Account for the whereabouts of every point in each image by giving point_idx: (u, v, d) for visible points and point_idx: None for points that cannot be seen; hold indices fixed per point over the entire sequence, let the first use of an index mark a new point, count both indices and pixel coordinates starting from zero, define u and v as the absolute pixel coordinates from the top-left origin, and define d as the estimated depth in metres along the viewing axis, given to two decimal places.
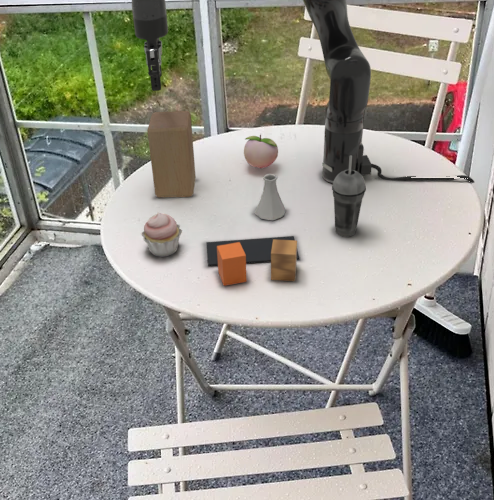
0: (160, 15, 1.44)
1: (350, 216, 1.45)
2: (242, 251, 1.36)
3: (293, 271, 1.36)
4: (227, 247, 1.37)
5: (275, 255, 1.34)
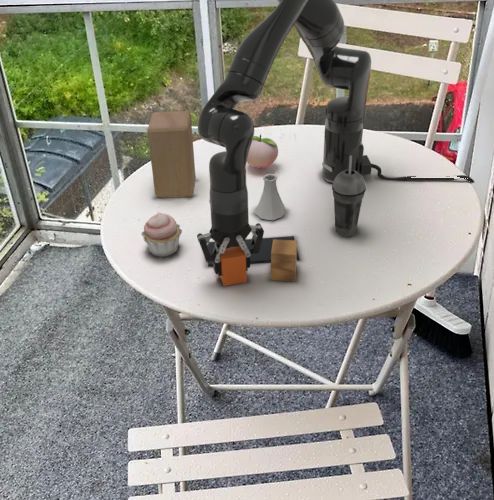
0: (218, 211, 1.27)
1: (350, 216, 1.45)
2: (242, 251, 1.36)
3: (293, 271, 1.36)
4: None
5: (275, 255, 1.34)
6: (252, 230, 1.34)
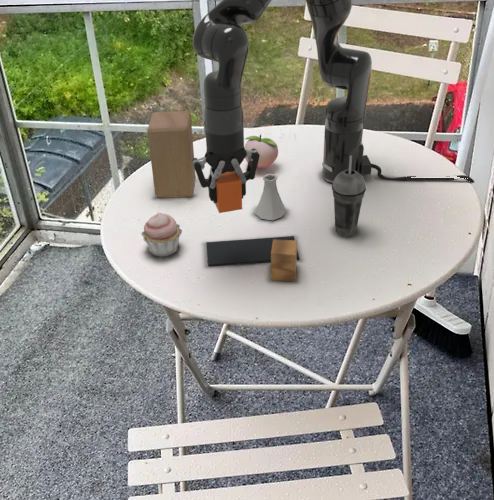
0: (213, 131, 1.26)
1: (350, 216, 1.45)
2: (238, 177, 1.34)
3: (293, 271, 1.36)
4: (223, 174, 1.36)
5: (275, 255, 1.34)
6: (248, 154, 1.33)
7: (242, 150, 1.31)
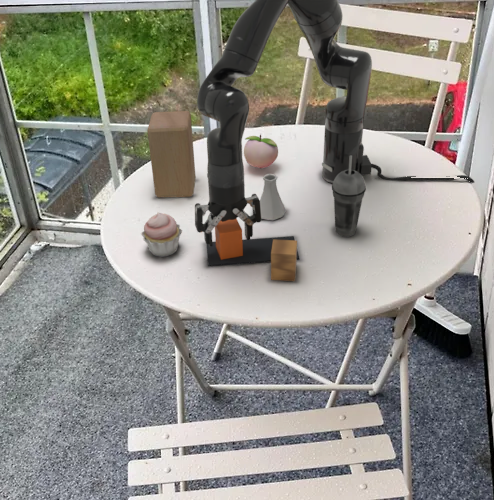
0: (215, 184, 1.33)
1: (350, 216, 1.45)
2: (238, 226, 1.42)
3: (293, 271, 1.36)
4: (224, 223, 1.44)
5: (275, 255, 1.34)
6: (248, 202, 1.40)
7: (243, 200, 1.39)
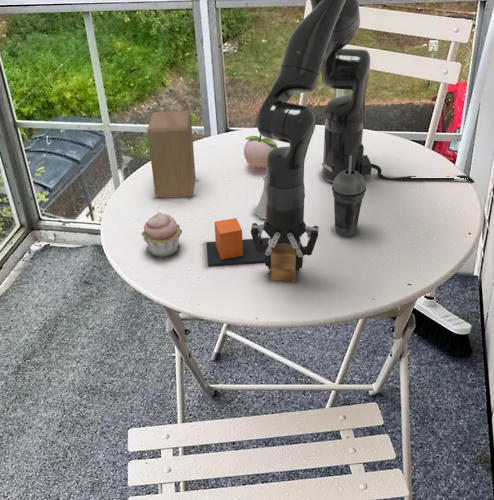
0: (269, 204, 1.27)
1: (350, 216, 1.45)
2: (238, 226, 1.42)
3: (293, 271, 1.36)
4: (224, 223, 1.44)
5: (275, 255, 1.34)
6: (307, 231, 1.32)
7: (300, 226, 1.31)
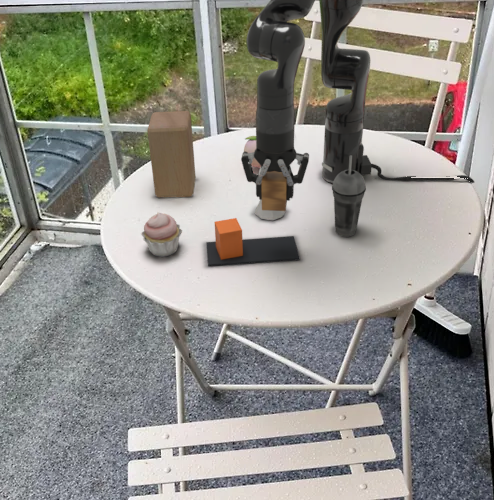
0: (259, 128, 1.27)
1: (350, 216, 1.45)
2: (238, 226, 1.42)
3: (284, 200, 1.36)
4: (224, 223, 1.44)
5: (266, 183, 1.34)
6: (297, 158, 1.31)
7: (291, 152, 1.30)
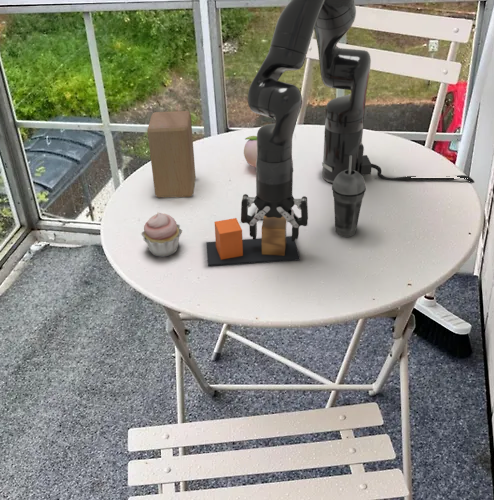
0: (259, 179, 1.34)
1: (350, 216, 1.45)
2: (238, 226, 1.42)
3: (283, 246, 1.42)
4: (224, 223, 1.44)
5: (266, 230, 1.41)
6: (296, 203, 1.38)
7: (289, 200, 1.37)
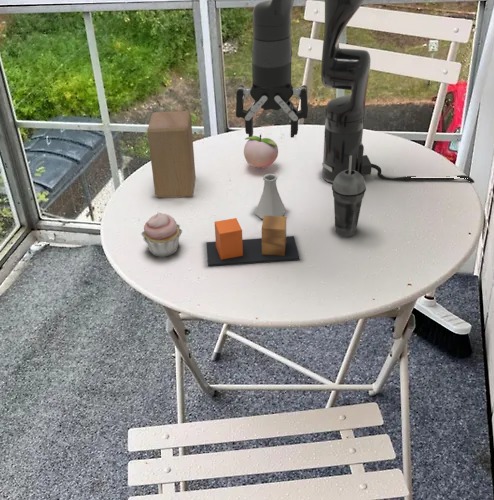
0: (256, 62, 1.24)
1: (350, 216, 1.45)
2: (238, 226, 1.42)
3: (283, 246, 1.42)
4: (224, 223, 1.44)
5: (266, 230, 1.41)
6: (295, 92, 1.28)
7: (288, 88, 1.27)
